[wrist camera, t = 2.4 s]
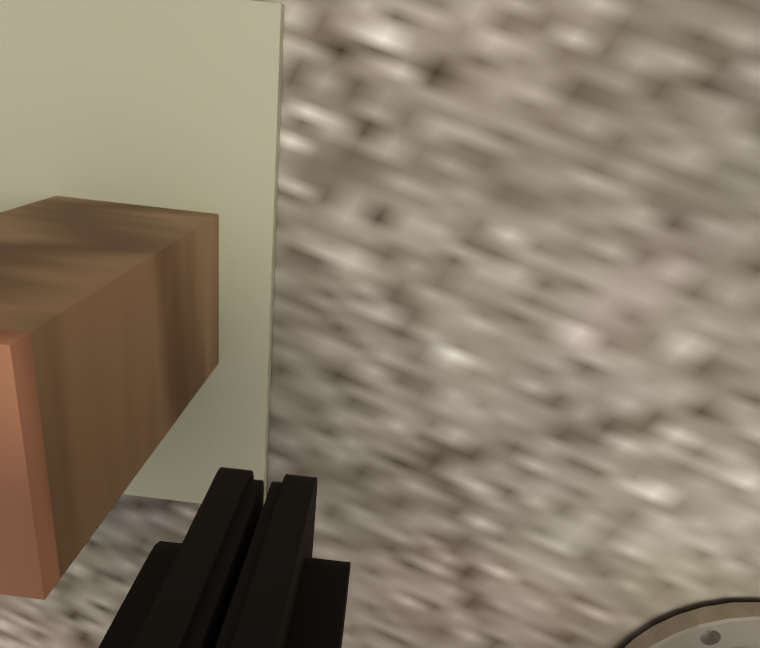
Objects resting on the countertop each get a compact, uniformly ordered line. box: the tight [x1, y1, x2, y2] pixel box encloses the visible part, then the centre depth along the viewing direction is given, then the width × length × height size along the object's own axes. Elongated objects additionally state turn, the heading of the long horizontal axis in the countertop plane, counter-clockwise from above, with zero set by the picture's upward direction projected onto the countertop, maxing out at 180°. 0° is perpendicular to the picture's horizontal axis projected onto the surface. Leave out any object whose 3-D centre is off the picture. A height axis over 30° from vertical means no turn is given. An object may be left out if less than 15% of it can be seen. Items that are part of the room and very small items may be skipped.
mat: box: [0, 0, 284, 506], centre depth 24 cm, size 20×20×1 cm
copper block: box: [0, 196, 219, 600], centre depth 18 cm, size 6×6×12 cm
